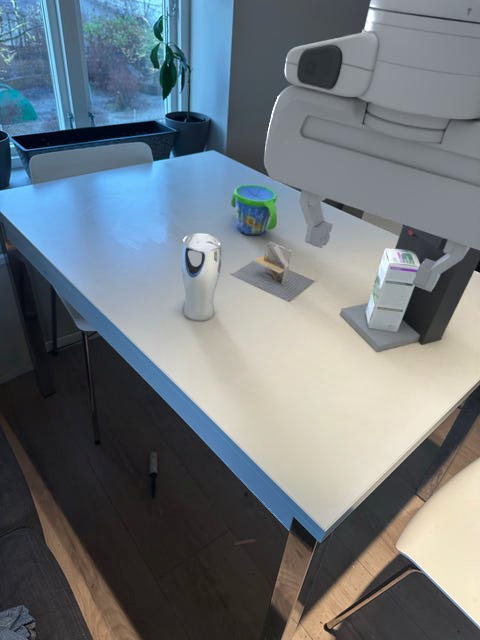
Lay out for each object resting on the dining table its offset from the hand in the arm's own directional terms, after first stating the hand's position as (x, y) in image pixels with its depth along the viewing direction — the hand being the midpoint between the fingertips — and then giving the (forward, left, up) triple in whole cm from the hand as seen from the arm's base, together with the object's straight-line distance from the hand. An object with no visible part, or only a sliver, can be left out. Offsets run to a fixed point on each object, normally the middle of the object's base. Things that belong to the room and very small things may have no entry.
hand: (367, 263), depth 36 cm
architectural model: (+30, -43, -34) cm, 63 cm away
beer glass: (+34, -22, -34) cm, 53 cm away
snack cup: (+47, -59, -34) cm, 83 cm away
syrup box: (+5, -42, -33) cm, 53 cm away
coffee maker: (+4, -45, -34) cm, 56 cm away
